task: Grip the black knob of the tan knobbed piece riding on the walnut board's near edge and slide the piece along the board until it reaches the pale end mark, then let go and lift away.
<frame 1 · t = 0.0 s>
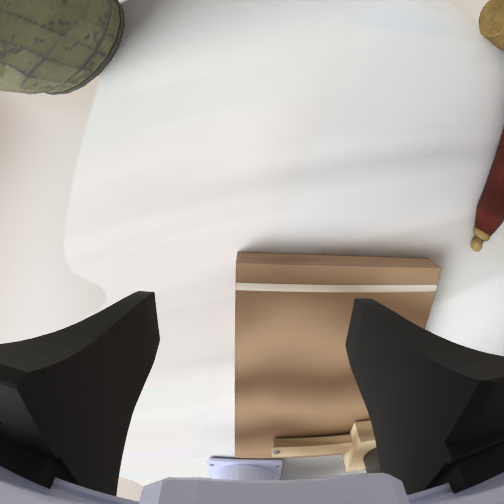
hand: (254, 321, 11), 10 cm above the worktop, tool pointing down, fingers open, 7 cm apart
thermos: (72, 38, 16), on the worktop
gavel: (502, 130, 18), on the worktop
tan knobbed piece: (342, 462, 22), point 5 cm above the worktop, slide at 0.0 cm
board: (322, 370, 24), on the worktop
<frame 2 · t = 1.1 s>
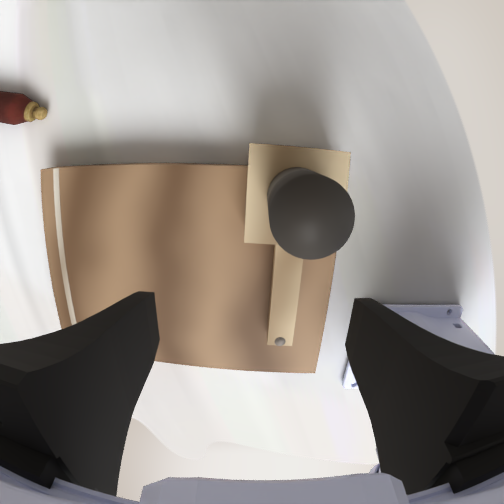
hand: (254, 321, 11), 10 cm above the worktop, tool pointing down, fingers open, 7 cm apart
tan knobbed piece: (291, 267, 16), point 5 cm above the worktop, slide at 0.0 cm
board: (180, 265, 22), on the worktop
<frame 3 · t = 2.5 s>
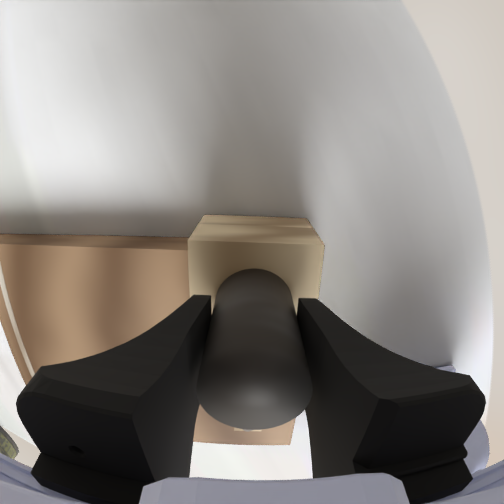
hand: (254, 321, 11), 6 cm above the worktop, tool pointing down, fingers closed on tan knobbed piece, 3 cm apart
tan knobbed piece: (250, 378, 13), point 5 cm above the worktop, slide at 0.0 cm, touching gripper
board: (138, 343, 19), on the worktop
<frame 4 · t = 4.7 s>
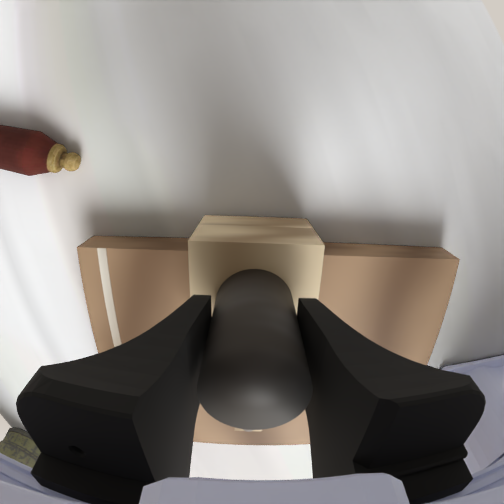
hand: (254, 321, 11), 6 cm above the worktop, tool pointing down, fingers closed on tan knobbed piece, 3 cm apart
thermos: (37, 450, 25), on the worktop
tan knobbed piece: (251, 378, 13), point 5 cm above the worktop, slide at 8.1 cm, touching gripper
board: (268, 352, 19), on the worktop
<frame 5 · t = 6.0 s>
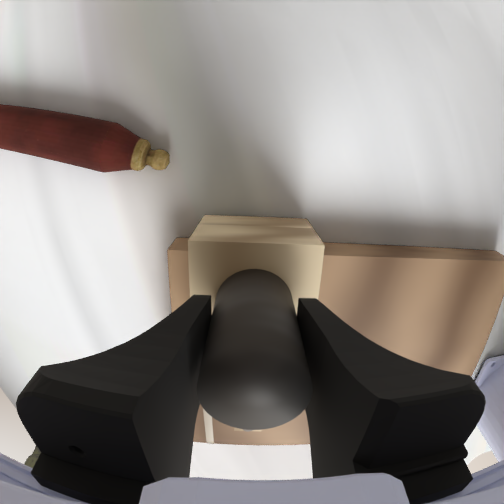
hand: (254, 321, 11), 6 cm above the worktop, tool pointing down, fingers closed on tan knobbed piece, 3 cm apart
gavel: (25, 126, 15), on the worktop
tan knobbed piece: (250, 378, 13), point 5 cm above the worktop, slide at 13.0 cm, touching gripper
board: (346, 351, 19), on the worktop
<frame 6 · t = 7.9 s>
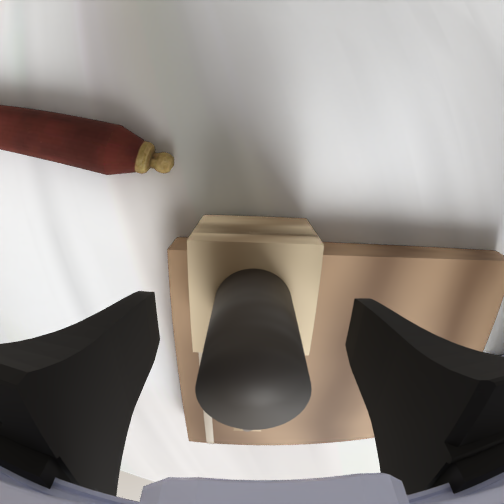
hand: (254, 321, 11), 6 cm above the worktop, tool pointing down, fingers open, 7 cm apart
gavel: (28, 127, 15), on the worktop
tan knobbed piece: (250, 378, 13), point 5 cm above the worktop, slide at 13.0 cm
board: (346, 351, 19), on the worktop
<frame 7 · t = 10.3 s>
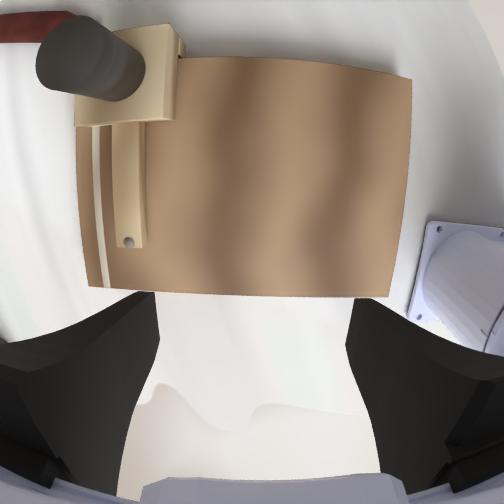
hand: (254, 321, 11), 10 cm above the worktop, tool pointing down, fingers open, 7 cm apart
gavel: (10, 33, 15), on the worktop
tan knobbed piece: (111, 141, 14), point 5 cm above the worktop, slide at 13.0 cm
board: (239, 175, 19), on the worktop
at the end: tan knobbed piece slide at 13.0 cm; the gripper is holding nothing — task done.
